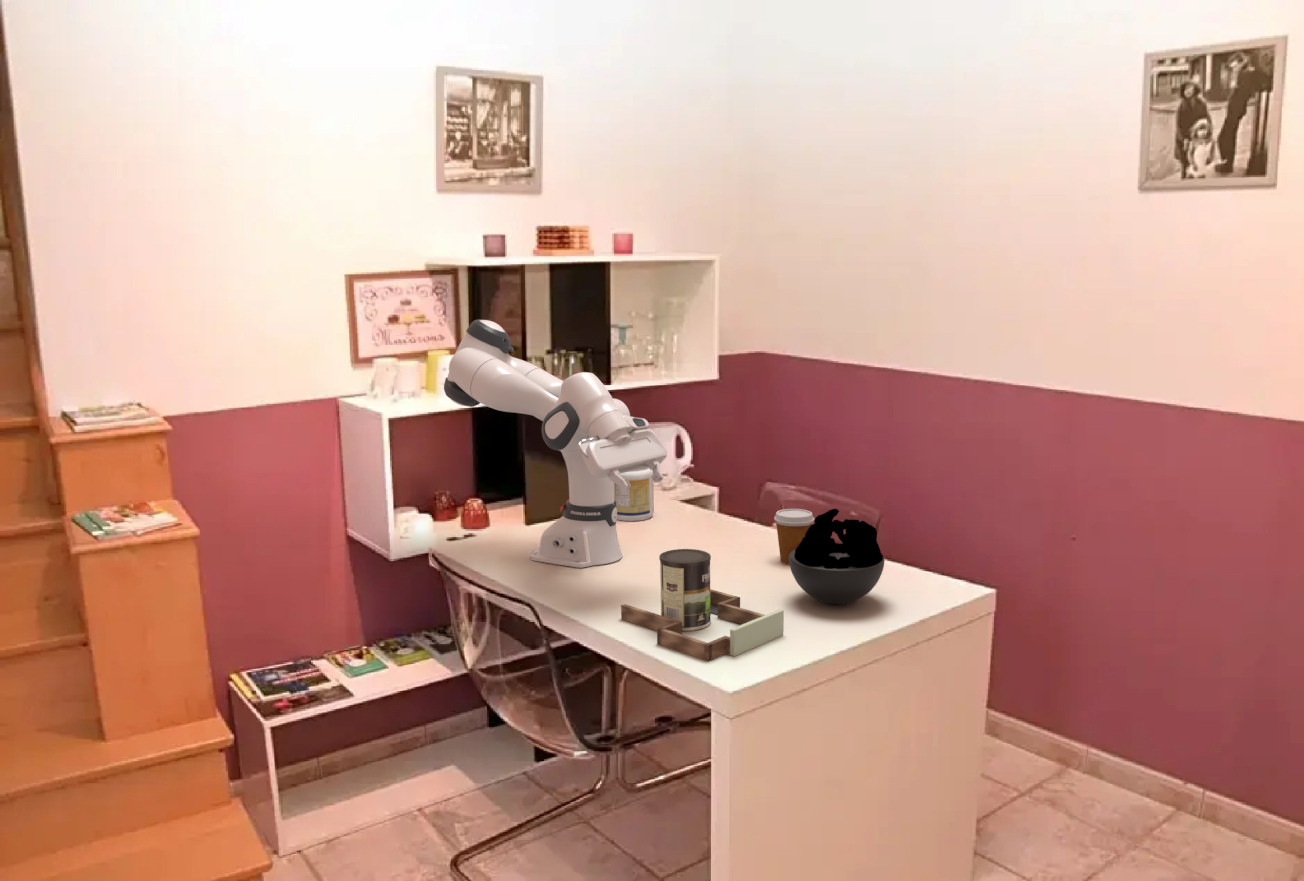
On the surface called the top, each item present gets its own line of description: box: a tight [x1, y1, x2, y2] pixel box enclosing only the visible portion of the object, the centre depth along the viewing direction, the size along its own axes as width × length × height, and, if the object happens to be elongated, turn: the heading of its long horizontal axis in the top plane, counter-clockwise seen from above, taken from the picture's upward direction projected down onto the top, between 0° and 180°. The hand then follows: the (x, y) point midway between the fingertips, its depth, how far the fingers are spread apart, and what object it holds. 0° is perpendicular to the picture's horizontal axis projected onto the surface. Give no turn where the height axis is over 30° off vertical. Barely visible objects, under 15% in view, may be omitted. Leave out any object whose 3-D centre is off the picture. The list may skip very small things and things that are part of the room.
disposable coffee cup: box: [773, 508, 815, 566], centre depth 253 cm, size 10×10×12 cm
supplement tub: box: [614, 467, 655, 522], centre depth 298 cm, size 12×12×17 cm
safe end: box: [729, 608, 785, 657], centre depth 200 cm, size 1×15×5 cm, turn 136°
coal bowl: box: [788, 508, 885, 605], centre depth 223 cm, size 20×20×19 cm
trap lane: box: [620, 588, 765, 662], centre depth 211 cm, size 29×25×3 cm
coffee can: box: [658, 548, 712, 632], centre depth 212 cm, size 10×10×14 cm
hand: (643, 484), depth 223 cm, fingers open, 8 cm apart
